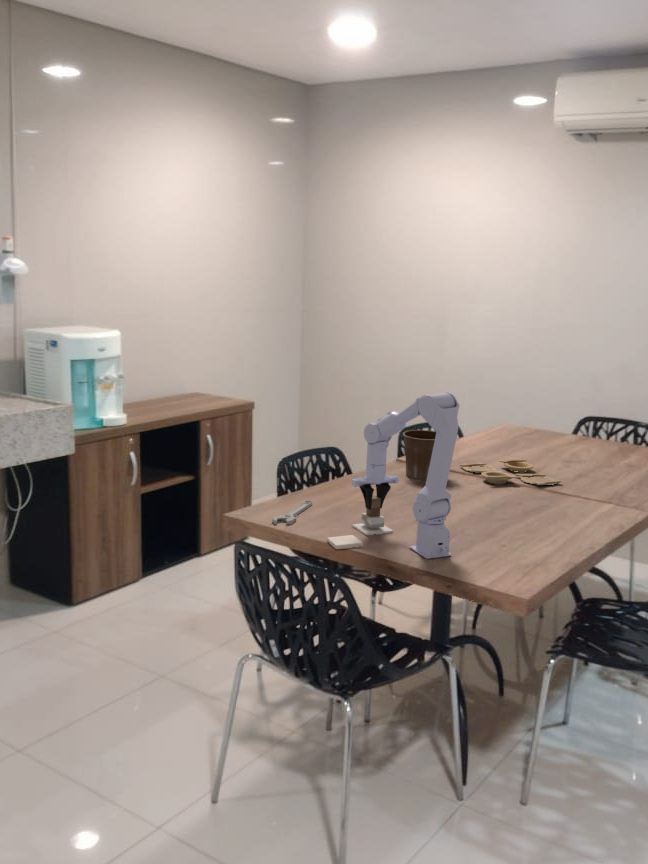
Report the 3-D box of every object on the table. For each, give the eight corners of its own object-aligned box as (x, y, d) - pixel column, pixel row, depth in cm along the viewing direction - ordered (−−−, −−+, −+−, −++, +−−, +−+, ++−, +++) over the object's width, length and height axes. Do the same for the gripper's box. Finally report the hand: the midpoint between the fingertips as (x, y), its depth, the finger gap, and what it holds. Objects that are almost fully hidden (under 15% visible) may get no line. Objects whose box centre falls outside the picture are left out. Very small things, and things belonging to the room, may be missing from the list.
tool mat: (393, 532, 247) (393, 530, 247) (366, 535, 243) (366, 533, 243) (378, 523, 255) (378, 521, 255) (352, 526, 251) (352, 524, 251)
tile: (362, 542, 233) (336, 545, 230) (362, 548, 234) (336, 550, 231) (352, 534, 240) (326, 537, 237) (352, 540, 240) (326, 542, 237)
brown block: (383, 527, 247) (385, 499, 245) (370, 528, 245) (372, 500, 244) (374, 521, 252) (375, 494, 251) (361, 522, 251) (362, 495, 249)
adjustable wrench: (305, 504, 274) (305, 499, 273) (323, 507, 271) (323, 502, 271) (269, 524, 251) (269, 518, 251) (288, 527, 249) (288, 521, 248)
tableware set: (566, 488, 307) (567, 477, 306) (492, 490, 300) (493, 479, 299) (522, 465, 340) (523, 455, 339) (455, 466, 333) (455, 456, 332)
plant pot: (438, 484, 304) (441, 440, 301) (395, 478, 309) (398, 435, 306) (447, 474, 319) (450, 432, 316) (406, 469, 324) (409, 428, 321)
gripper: (391, 458, 252) (388, 502, 254) (347, 461, 245) (345, 506, 248) (402, 464, 245) (400, 508, 248) (358, 467, 239) (356, 513, 242)
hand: (373, 508), depth 248 cm, fingers closed on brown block, 3 cm apart
